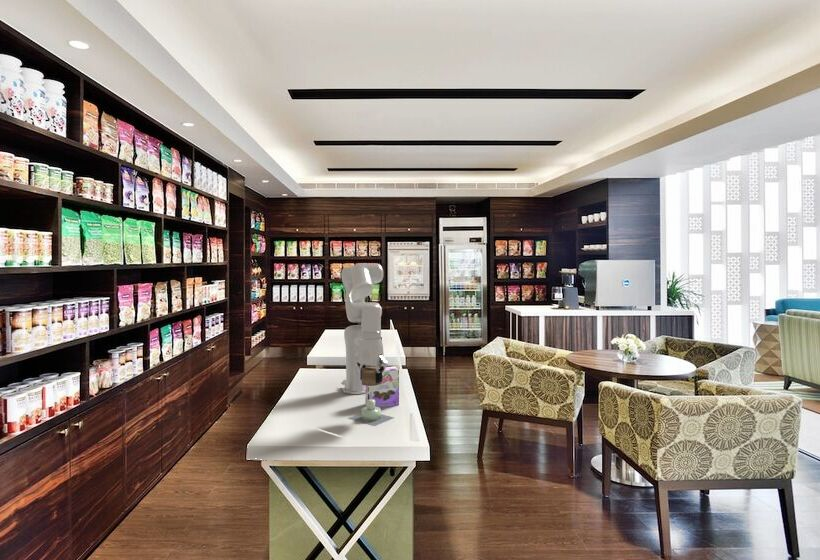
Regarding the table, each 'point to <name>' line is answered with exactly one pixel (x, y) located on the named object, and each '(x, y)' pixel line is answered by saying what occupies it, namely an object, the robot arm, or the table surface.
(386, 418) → the mat
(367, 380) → the brown short round piece
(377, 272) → the robot arm
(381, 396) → the candy box
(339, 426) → the table surface
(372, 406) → the jar
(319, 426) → the table surface
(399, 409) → the table surface
